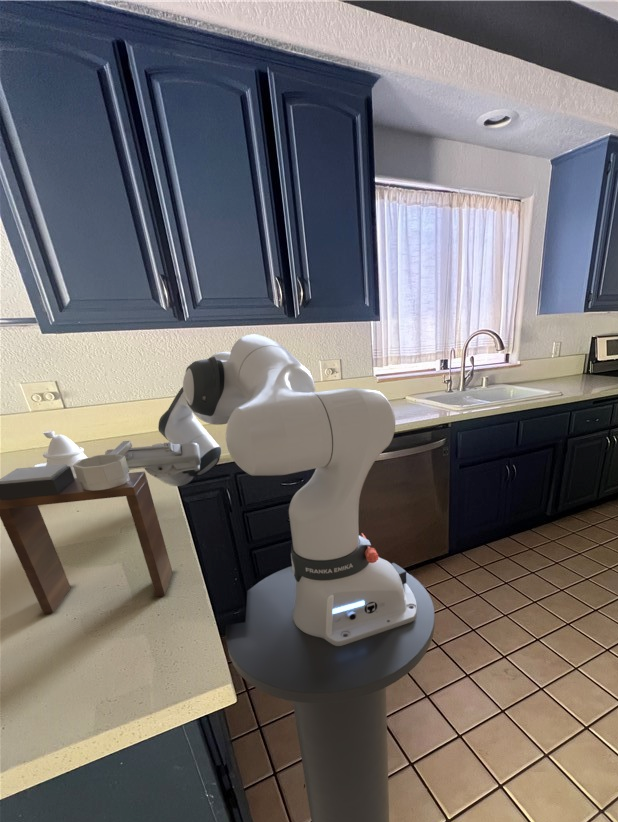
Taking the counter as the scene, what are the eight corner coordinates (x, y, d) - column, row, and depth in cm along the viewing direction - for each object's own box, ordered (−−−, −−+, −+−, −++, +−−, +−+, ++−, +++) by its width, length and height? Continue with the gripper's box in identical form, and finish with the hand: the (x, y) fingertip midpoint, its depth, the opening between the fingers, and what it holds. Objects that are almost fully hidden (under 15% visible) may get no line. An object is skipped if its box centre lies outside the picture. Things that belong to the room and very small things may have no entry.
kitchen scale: (75, 479, 75) (69, 463, 73) (58, 494, 68) (51, 477, 67) (22, 484, 73) (15, 467, 72) (0, 500, 67) (-8, 482, 65)
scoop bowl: (150, 454, 87) (145, 435, 85) (123, 487, 70) (116, 464, 69) (112, 457, 86) (106, 438, 84) (75, 492, 69) (67, 469, 67)
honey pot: (57, 499, 123) (33, 439, 116) (47, 488, 132) (25, 431, 124) (106, 487, 132) (87, 429, 124) (94, 477, 140) (76, 423, 132)
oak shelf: (172, 572, 87) (144, 471, 78) (165, 595, 80) (133, 487, 71) (62, 588, 83) (18, 483, 73) (43, 614, 76) (-8, 501, 66)
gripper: (117, 453, 107) (91, 438, 93) (203, 446, 111) (191, 430, 98) (119, 478, 106) (93, 466, 93) (206, 469, 110) (193, 457, 97)
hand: (144, 447), depth 95 cm, fingers open, 8 cm apart
